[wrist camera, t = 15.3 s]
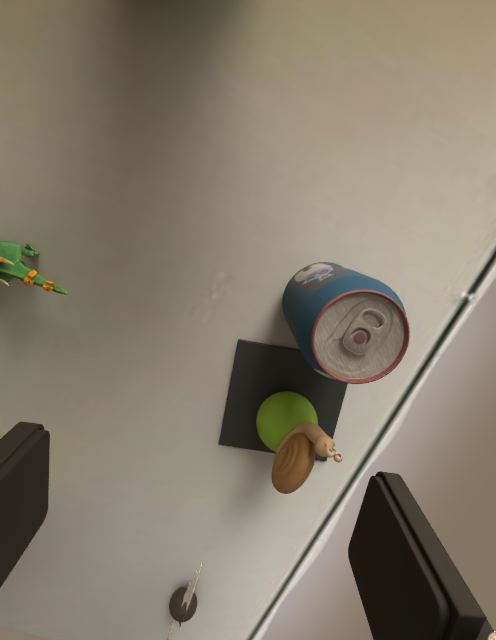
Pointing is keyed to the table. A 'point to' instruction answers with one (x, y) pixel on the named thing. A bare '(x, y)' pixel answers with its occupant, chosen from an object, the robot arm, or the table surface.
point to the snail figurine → (292, 438)
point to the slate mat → (267, 379)
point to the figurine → (21, 267)
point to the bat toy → (183, 603)
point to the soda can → (346, 323)
